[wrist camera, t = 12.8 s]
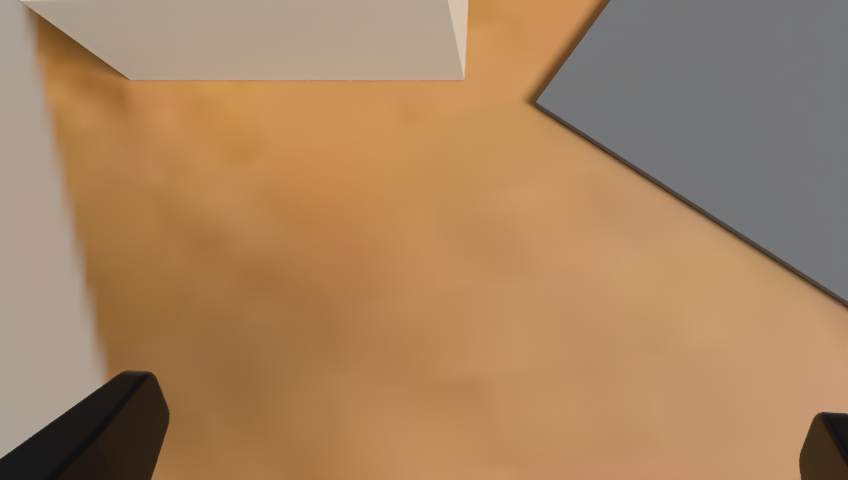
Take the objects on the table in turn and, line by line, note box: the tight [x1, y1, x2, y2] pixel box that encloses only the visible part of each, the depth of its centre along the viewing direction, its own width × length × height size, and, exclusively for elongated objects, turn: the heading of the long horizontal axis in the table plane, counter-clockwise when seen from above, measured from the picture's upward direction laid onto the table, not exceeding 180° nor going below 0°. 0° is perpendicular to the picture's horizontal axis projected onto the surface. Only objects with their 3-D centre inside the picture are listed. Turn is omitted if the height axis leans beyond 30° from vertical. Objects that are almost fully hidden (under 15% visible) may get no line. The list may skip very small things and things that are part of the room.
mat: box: [536, 0, 848, 306], centre depth 23 cm, size 14×14×1 cm
